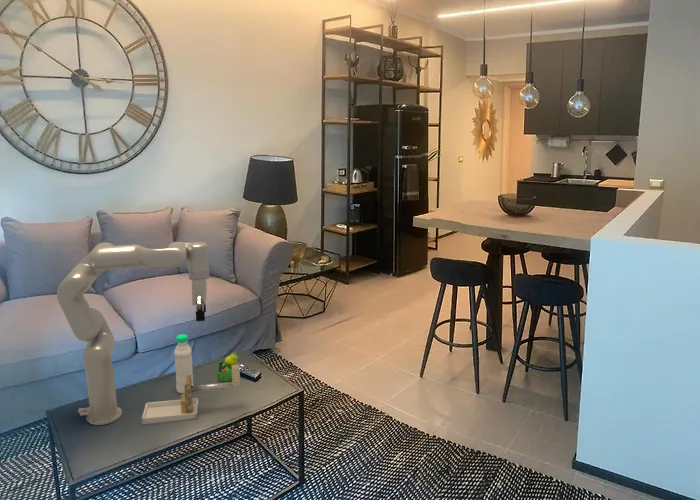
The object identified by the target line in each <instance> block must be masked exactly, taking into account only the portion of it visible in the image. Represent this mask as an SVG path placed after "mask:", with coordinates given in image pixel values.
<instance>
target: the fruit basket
mask: <svg viewBox="0 0 700 500" xmlns="http://www.w3.org/2000/svg"><path fill="white" fill-rule="evenodd" d="M238 359H239V358H238V355H237V353H235V352H232V353H231V354H230V355H228V356H226V358H225V359H224V361H219V362H217V372H216V374H217V375H218V377H219V380H220V383H227V382H232V365H238Z"/></svg>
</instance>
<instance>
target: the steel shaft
mask: <svg viewBox="0 0 700 500" xmlns="http://www.w3.org/2000/svg"><path fill="white" fill-rule="evenodd" d="M240 373H241V371H240V364H236V365H232V381H226V382H217V383H216V382H215V383H207V384H206V383H205V384H195V385H193V386H191V392H192V393H196V392H205V391H207V392H208V391H218V390H226V389H234V388H236V387H241V374H240Z"/></svg>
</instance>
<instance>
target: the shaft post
mask: <svg viewBox="0 0 700 500" xmlns="http://www.w3.org/2000/svg"><path fill="white" fill-rule="evenodd" d="M191 386H192V382H191V375H186V378H185V384H184V387H185V393H184V394H185V403H186V414H188V413H192V409H193V398H194V397H193V392H191Z"/></svg>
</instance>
